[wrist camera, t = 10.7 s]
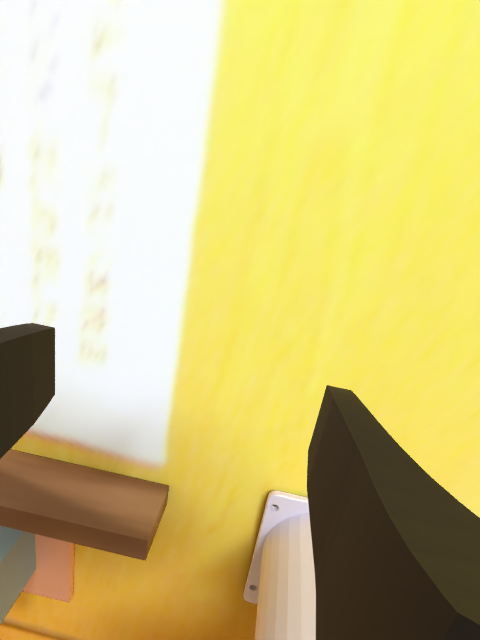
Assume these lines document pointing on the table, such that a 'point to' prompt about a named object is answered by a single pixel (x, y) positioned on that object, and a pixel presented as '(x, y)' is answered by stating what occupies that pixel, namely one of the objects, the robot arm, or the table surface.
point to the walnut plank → (80, 504)
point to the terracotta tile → (52, 569)
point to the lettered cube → (15, 565)
